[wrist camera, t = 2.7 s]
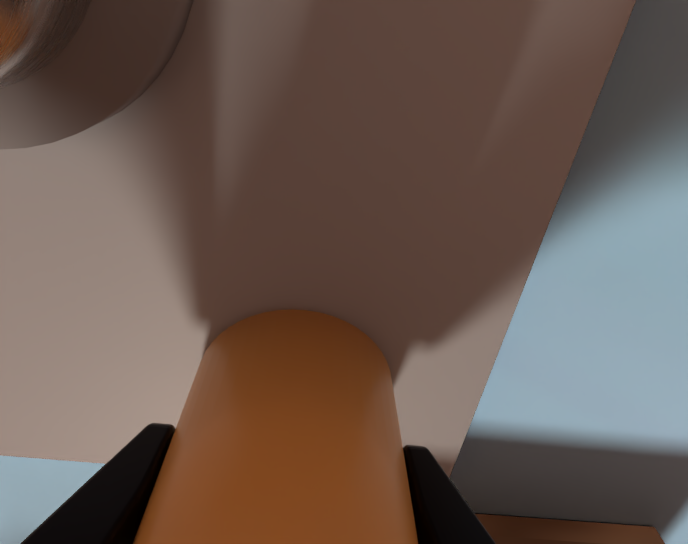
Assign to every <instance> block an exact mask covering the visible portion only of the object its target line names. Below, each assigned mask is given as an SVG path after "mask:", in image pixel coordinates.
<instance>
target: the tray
mask: <svg viewBox="0 0 688 544" xmlns="http://www.w3.org/2000/svg"><path fill="white" fill-rule="evenodd" d="M475 515H476V516H477V518H478V519H479V520H480V522H481V523H482V525H483V526H484V527H485V529H486V530H487V532H488V533H489V534H490V536H491V537H492V539H493V540H494V541H495V543H496V544H665V543H664V541H663V540H662V538H661V537H660V535H659V533H658V532H657V530H656V529H655V527H648V526H634V525H621V524H607V523H594V522H580V521H567V520H553V519H540V518H526V517H513V516H499V515H486V514H475Z"/></svg>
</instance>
